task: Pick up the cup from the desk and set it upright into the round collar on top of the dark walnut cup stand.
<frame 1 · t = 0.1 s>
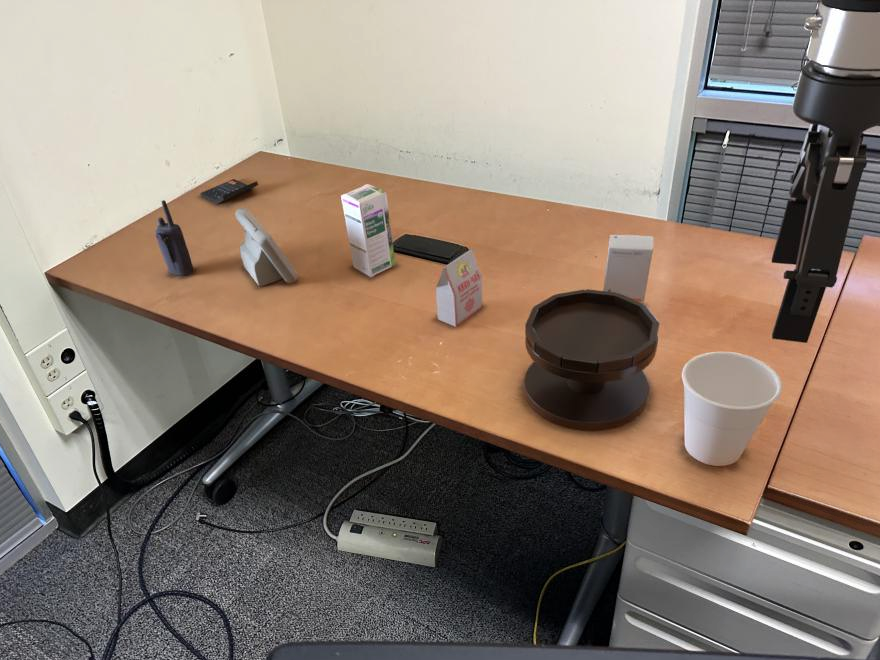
hand: (787, 298, 66), 23 cm above the table, tool pointing down, fingers open, 13 cm apart
cup: (711, 450, 82), on the table
two-way radio: (180, 274, 133), on the table
calculator: (230, 195, 160), on the table
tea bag: (460, 314, 111), on the table
digital clock: (272, 271, 130), on the table
cup stand: (584, 390, 93), on the table
syrup box: (374, 267, 126), on the table
cosmetic box: (621, 312, 105), on the table
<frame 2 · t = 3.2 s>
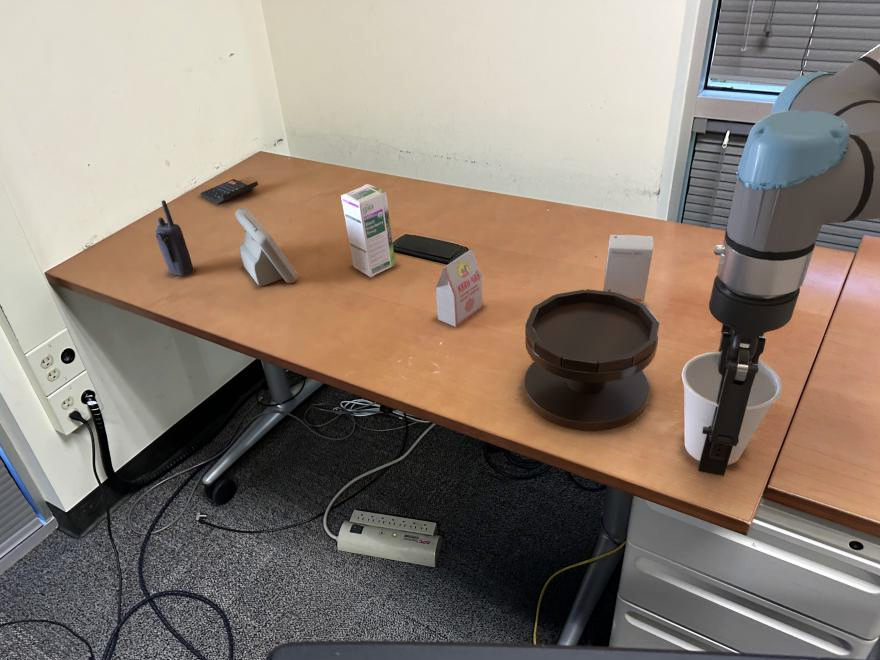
hand: (713, 444, 81), 1 cm above the table, tool pointing down, fingers closed on cup, 8 cm apart
cup: (711, 450, 82), on the table, touching gripper
everything else where it was.
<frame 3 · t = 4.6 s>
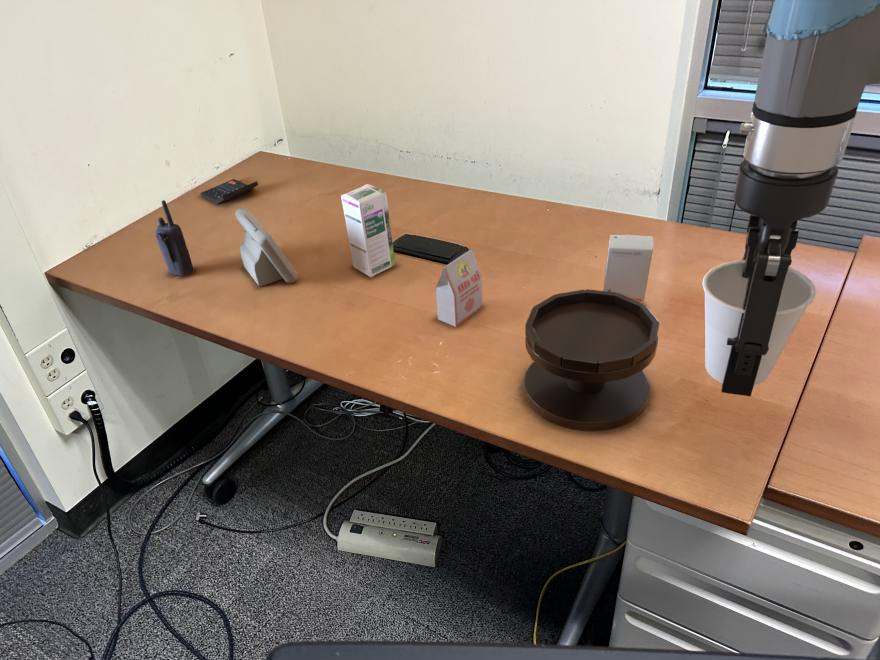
hand: (737, 365, 74), 13 cm above the table, tool pointing down, fingers closed on cup, 8 cm apart
cup: (735, 373, 74), point 12 cm above the table, touching gripper
everything else where it was.
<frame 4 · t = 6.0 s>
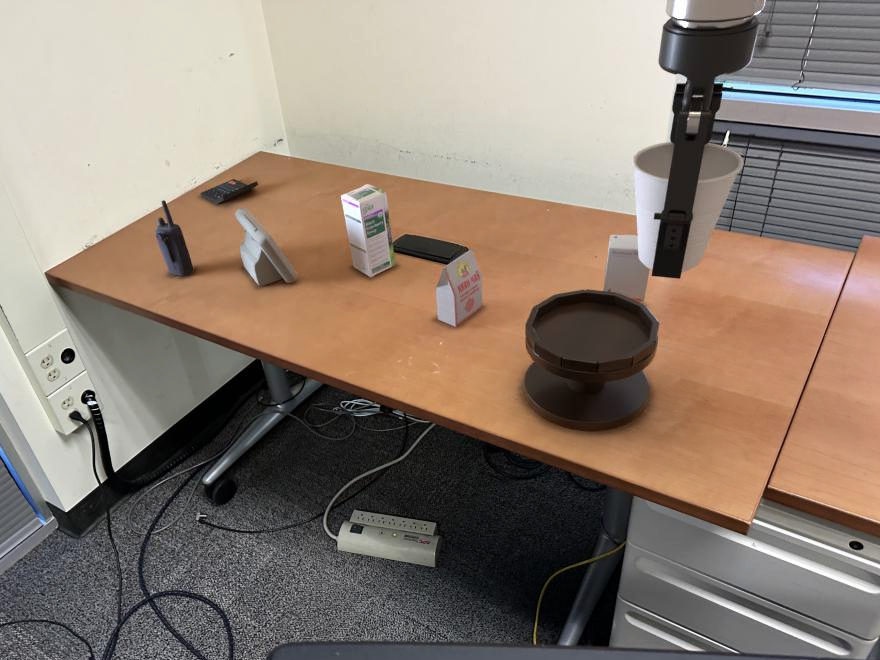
hand: (669, 253, 72), 24 cm above the table, tool pointing down, fingers closed on cup, 8 cm apart
cup: (668, 261, 73), point 23 cm above the table, touching gripper
everything else where it was.
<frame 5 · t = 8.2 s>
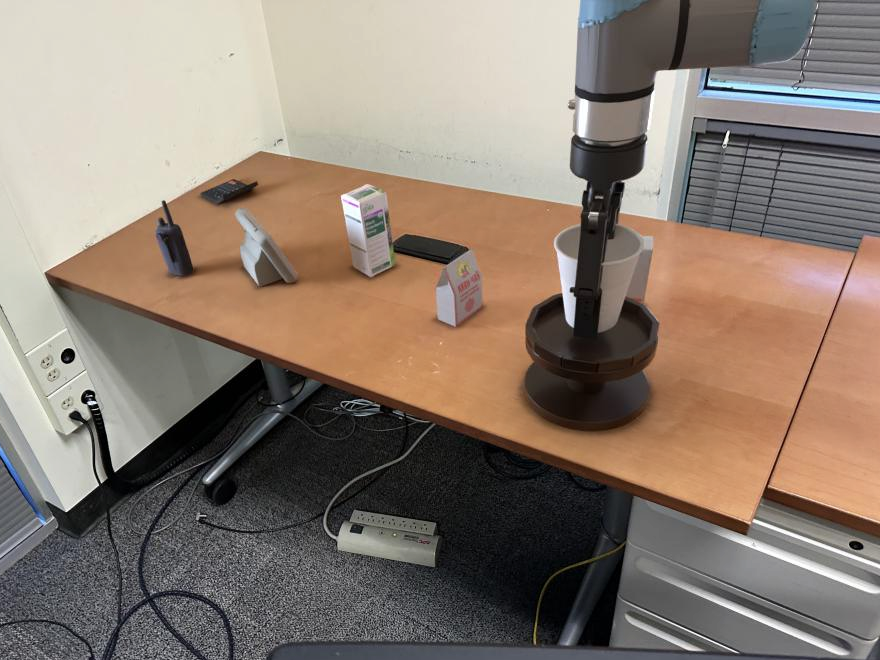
hand: (591, 315, 85), 12 cm above the table, tool pointing down, fingers closed on cup, 8 cm apart
cup: (590, 321, 86), point 11 cm above the table, touching gripper
everything else where it was.
when the fingers open (10 cm above the table, at t = 9.3 s): cup stays where it is, resting on cup stand.
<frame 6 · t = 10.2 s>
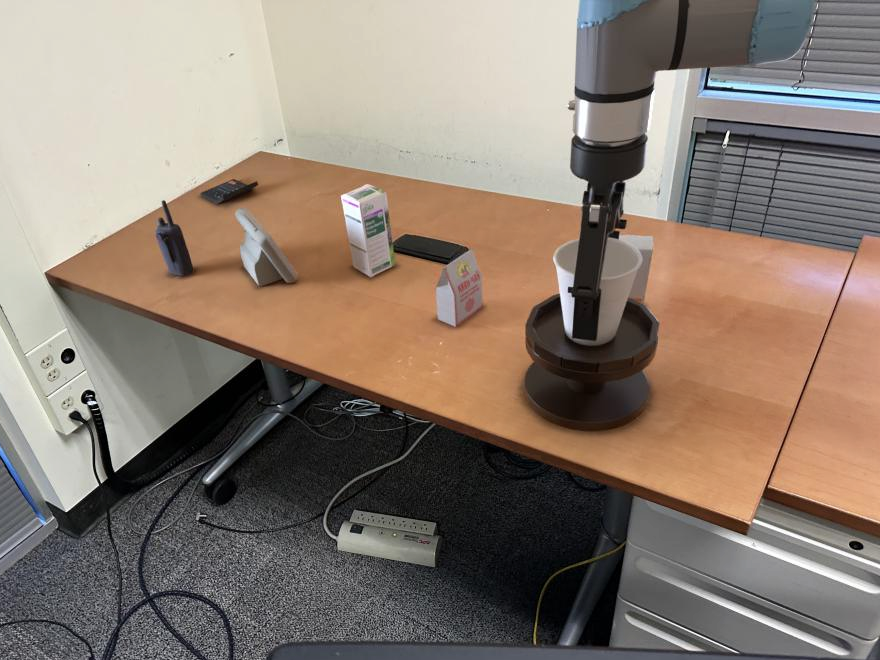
hand: (594, 306, 84), 14 cm above the table, tool pointing down, fingers open, 13 cm apart
cup: (589, 334, 87), point 9 cm above the table, touching cup stand
everything else where it was.
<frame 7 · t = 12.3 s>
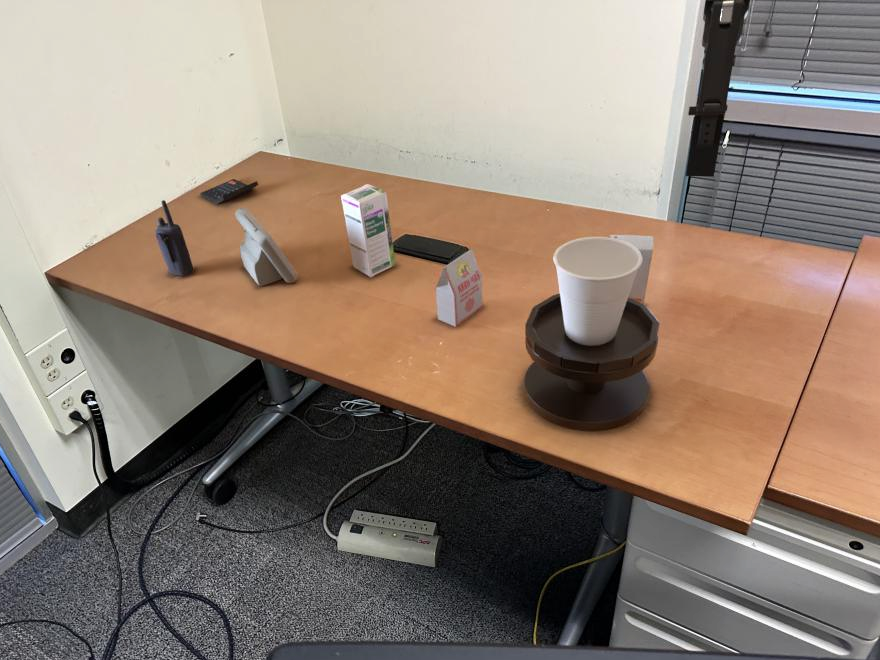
hand: (702, 150, 77), 30 cm above the table, tool pointing down, fingers open, 13 cm apart
nothing on the table moved.
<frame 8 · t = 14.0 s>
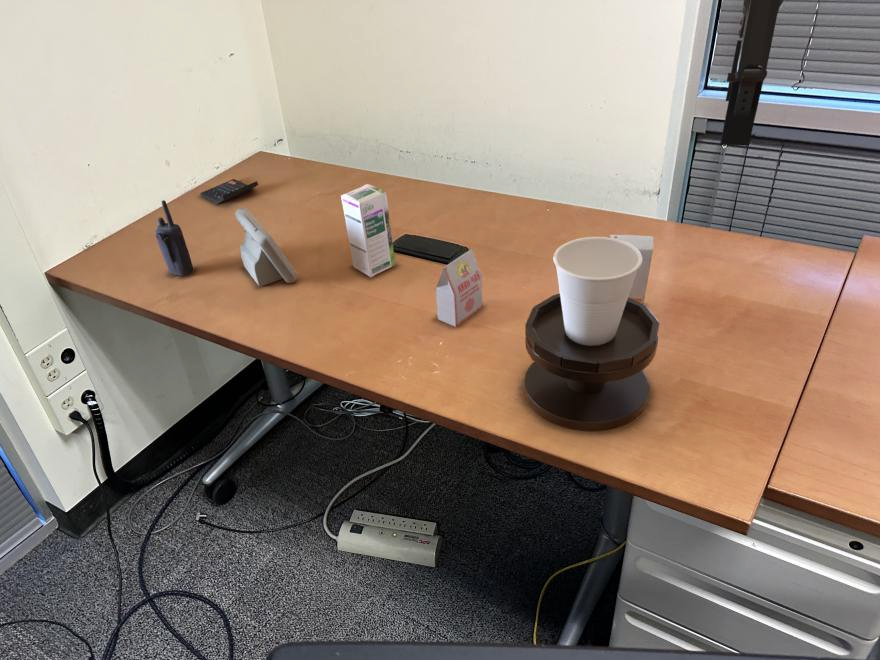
hand: (736, 121, 77), 32 cm above the table, tool pointing down, fingers open, 13 cm apart
nothing on the table moved.
at the end: cup 0.0 cm off-centre on the cup stand, point 9.3 cm above the cup stand's base; cup tilted 0°; the gripper is holding nothing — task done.
